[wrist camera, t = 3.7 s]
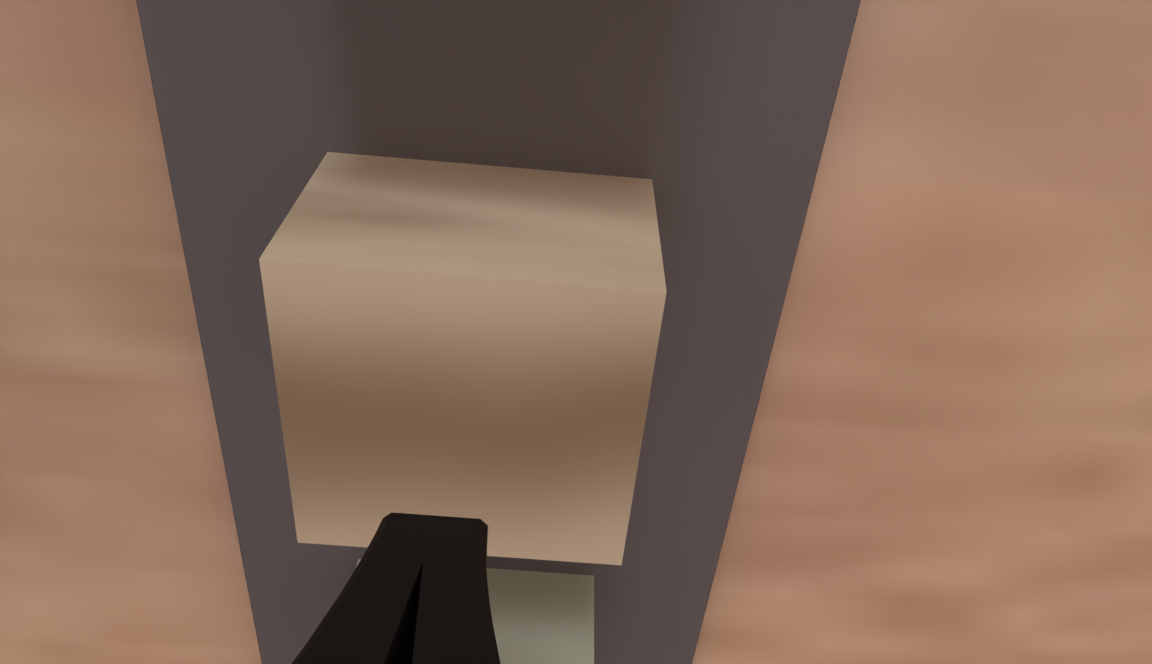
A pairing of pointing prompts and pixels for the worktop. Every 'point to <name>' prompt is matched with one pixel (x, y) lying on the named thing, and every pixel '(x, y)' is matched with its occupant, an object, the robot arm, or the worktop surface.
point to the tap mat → (520, 140)
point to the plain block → (466, 350)
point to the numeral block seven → (542, 616)
